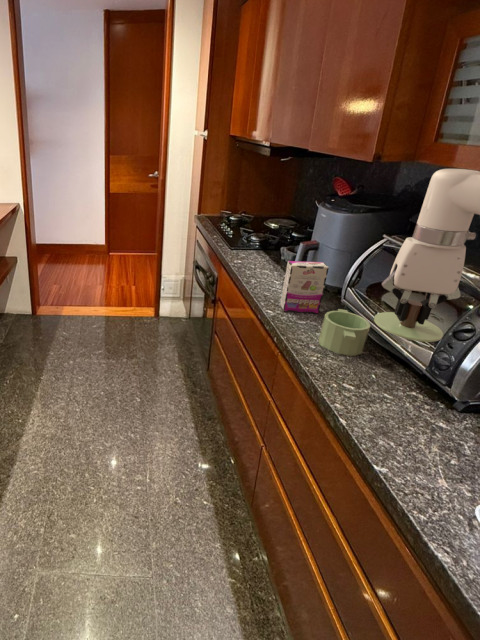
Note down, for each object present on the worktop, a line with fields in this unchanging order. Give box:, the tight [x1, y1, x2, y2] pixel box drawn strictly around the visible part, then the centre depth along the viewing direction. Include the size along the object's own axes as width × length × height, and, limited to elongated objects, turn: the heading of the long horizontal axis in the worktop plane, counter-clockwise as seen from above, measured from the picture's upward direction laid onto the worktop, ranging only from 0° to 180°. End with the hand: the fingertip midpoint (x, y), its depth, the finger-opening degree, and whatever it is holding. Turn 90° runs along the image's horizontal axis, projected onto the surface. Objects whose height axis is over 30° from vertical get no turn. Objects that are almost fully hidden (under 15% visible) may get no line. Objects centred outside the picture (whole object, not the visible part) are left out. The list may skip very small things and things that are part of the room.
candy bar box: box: [279, 260, 329, 314], centre depth 127 cm, size 11×5×16 cm, turn 81°
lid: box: [373, 299, 444, 343], centre depth 81 cm, size 12×12×6 cm
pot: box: [318, 308, 372, 356], centre depth 107 cm, size 11×16×8 cm, turn 156°
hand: (409, 319), depth 81 cm, fingers closed on lid, 2 cm apart
